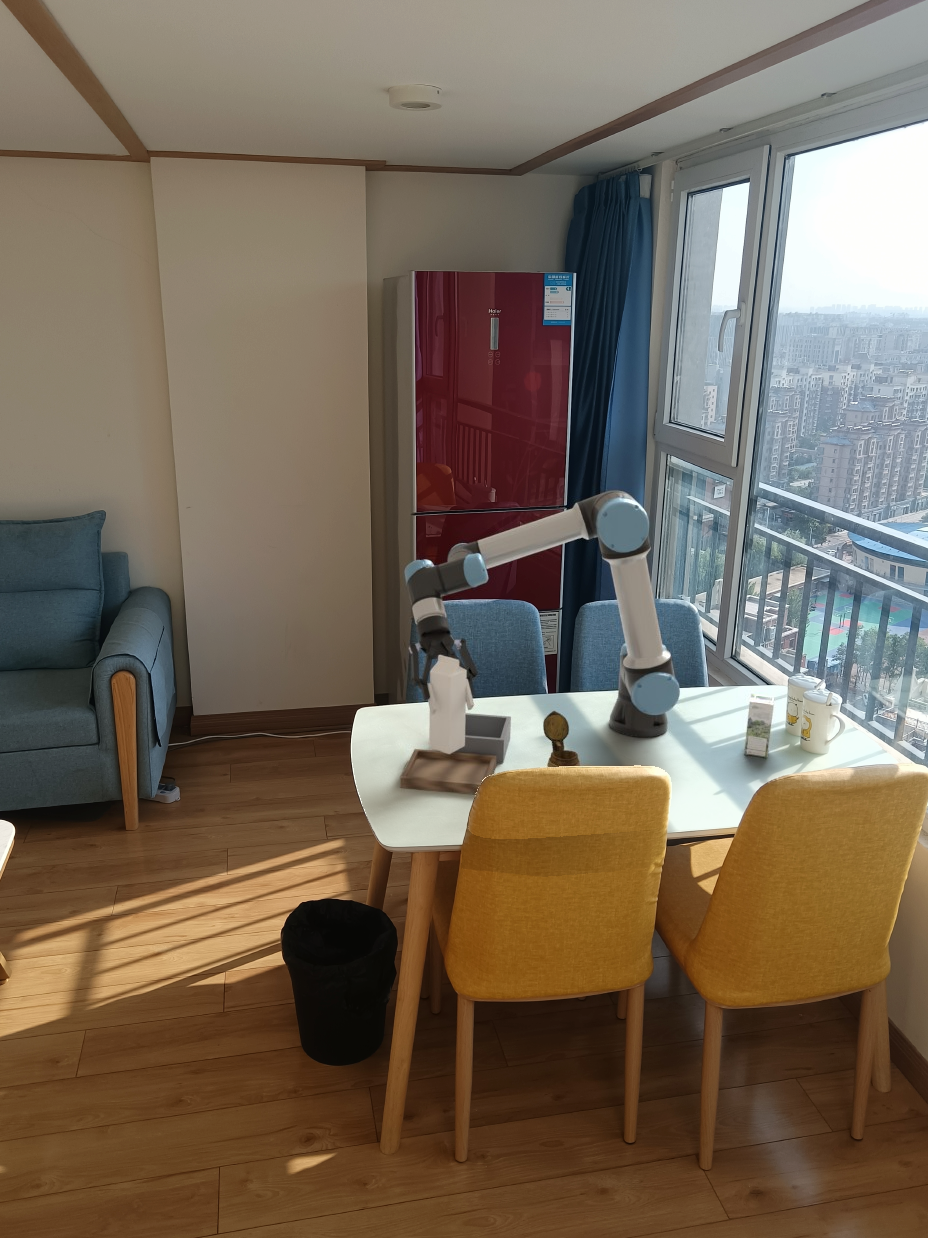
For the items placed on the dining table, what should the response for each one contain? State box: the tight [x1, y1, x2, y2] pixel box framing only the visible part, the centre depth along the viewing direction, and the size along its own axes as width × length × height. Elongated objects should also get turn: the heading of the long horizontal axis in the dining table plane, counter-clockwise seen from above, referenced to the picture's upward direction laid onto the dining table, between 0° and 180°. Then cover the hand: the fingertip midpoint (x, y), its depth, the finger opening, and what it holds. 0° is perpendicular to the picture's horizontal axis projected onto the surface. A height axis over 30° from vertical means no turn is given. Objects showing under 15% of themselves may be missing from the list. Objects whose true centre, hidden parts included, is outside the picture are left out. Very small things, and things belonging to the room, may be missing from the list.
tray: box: [399, 748, 497, 795], centre depth 228 cm, size 20×16×2 cm
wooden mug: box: [542, 710, 581, 768], centre depth 217 cm, size 9×14×18 cm, turn 13°
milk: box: [428, 655, 467, 754], centre depth 223 cm, size 6×6×22 cm
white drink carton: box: [743, 693, 775, 758], centre depth 242 cm, size 6×6×14 cm
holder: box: [455, 712, 512, 764], centre depth 243 cm, size 15×15×6 cm
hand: (452, 709), depth 220 cm, fingers closed on milk, 8 cm apart
